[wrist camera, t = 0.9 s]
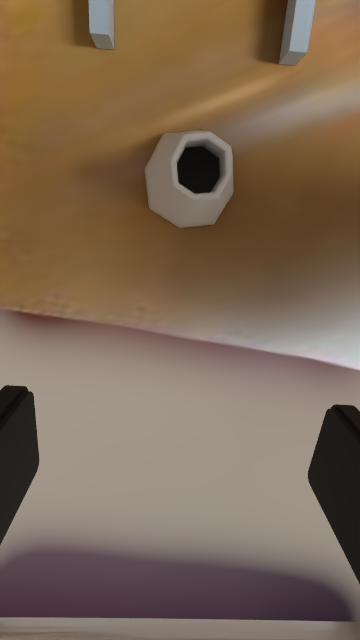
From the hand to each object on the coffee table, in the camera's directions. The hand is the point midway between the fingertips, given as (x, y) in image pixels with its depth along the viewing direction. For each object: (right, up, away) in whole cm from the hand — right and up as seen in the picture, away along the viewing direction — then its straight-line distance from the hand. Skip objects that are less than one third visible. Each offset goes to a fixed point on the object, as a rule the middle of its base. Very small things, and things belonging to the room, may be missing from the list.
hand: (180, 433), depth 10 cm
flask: (+1, +15, +15) cm, 21 cm away
